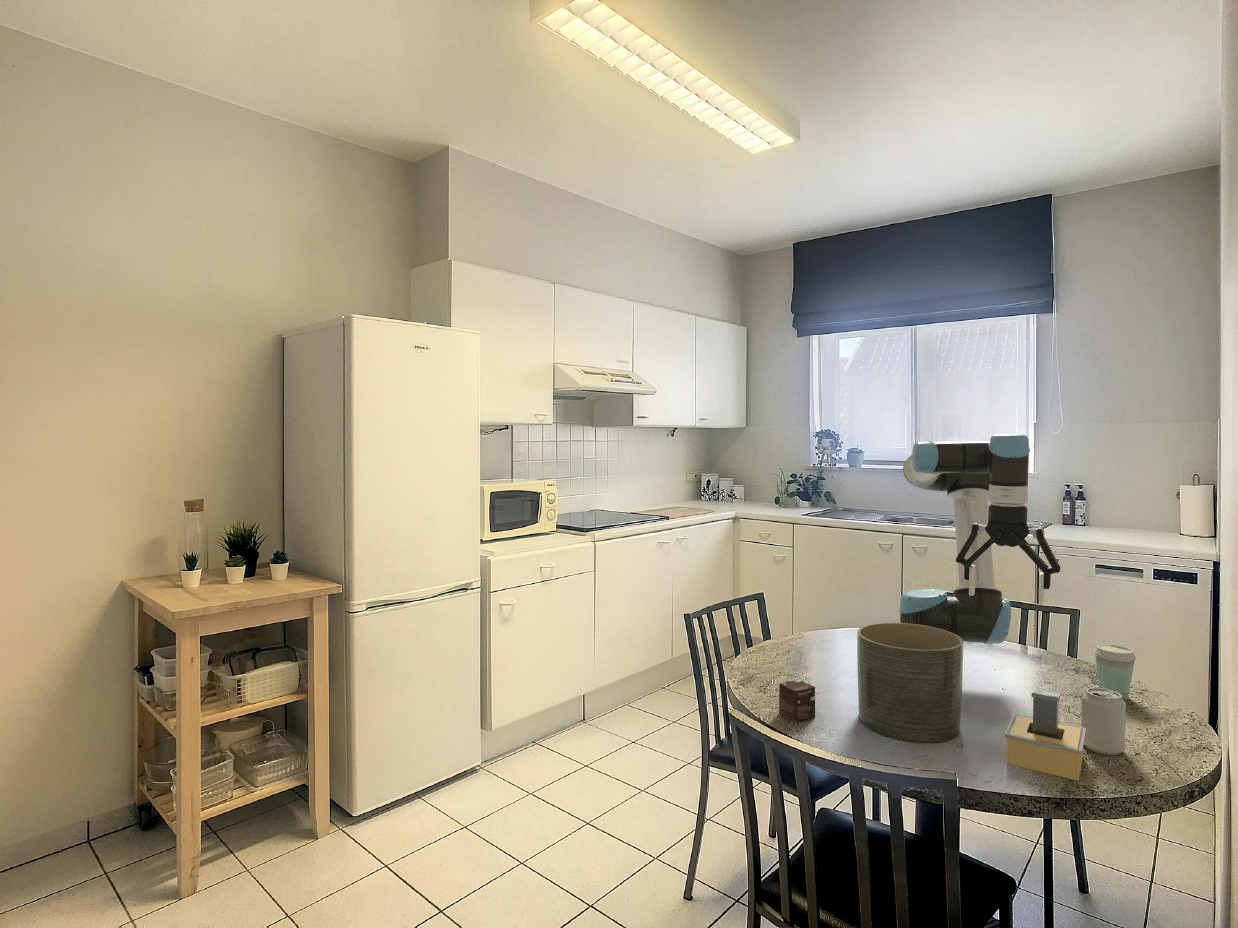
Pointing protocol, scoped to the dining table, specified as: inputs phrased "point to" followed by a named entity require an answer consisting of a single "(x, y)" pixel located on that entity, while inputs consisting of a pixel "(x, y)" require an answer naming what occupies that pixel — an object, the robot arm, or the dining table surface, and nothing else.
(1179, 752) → the dining table surface
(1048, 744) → the tan hollow block
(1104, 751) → the can
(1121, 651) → the coffee cup
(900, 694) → the planter
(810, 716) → the box
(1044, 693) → the wedge pin
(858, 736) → the dining table surface
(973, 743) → the dining table surface
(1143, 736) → the dining table surface
